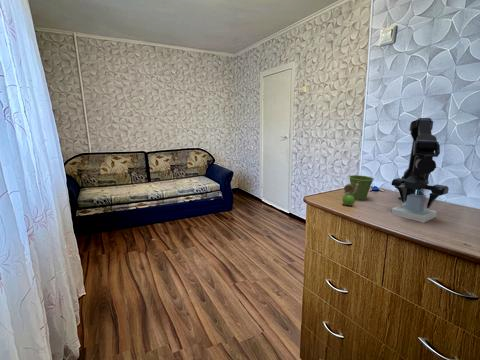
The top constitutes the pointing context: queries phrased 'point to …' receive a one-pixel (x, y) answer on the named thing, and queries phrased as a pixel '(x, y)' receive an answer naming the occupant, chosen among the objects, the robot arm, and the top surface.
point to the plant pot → (361, 186)
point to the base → (414, 214)
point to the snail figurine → (349, 194)
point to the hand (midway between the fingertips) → (414, 205)
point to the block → (415, 202)
